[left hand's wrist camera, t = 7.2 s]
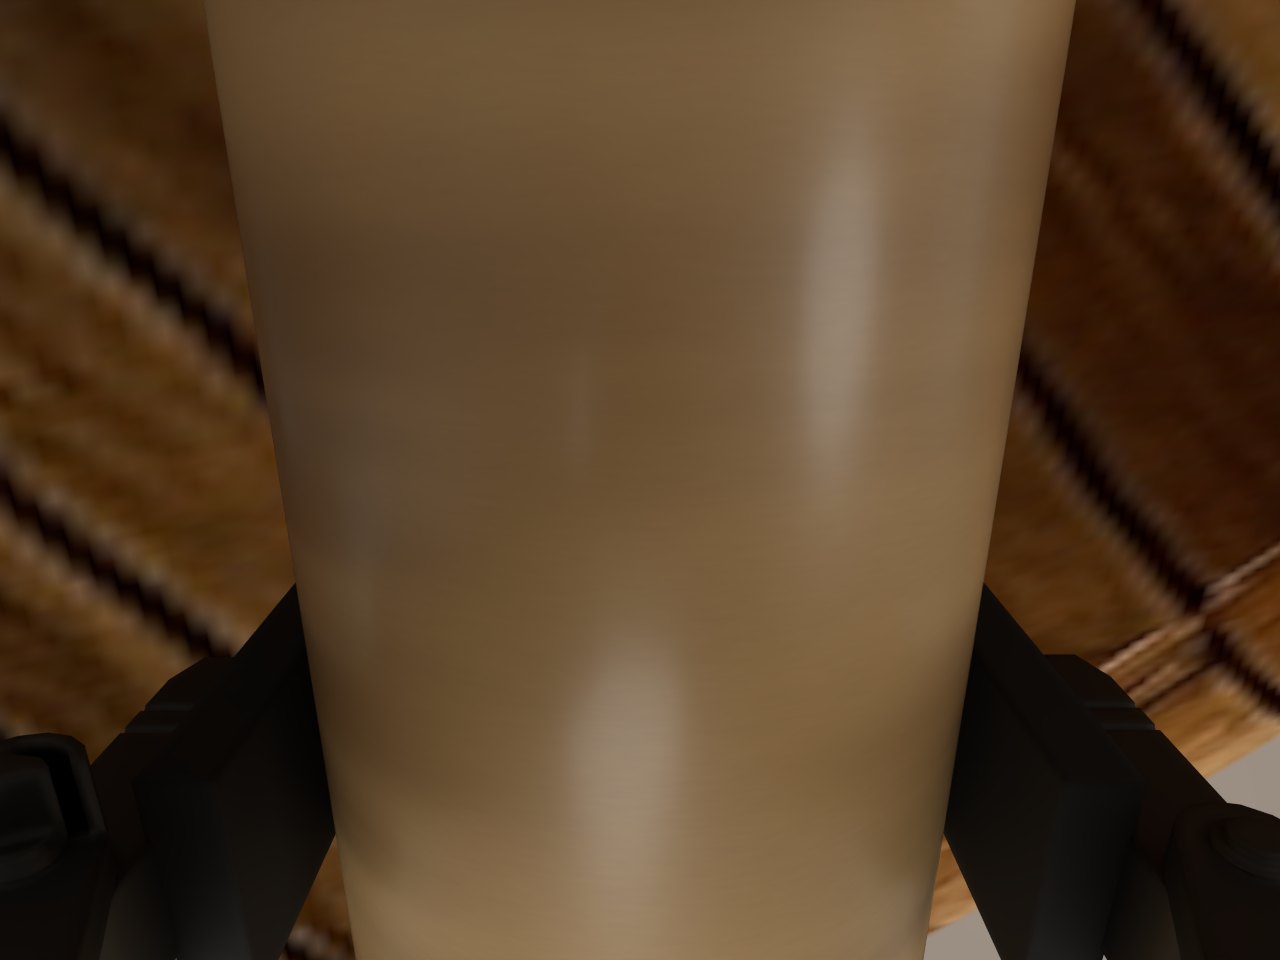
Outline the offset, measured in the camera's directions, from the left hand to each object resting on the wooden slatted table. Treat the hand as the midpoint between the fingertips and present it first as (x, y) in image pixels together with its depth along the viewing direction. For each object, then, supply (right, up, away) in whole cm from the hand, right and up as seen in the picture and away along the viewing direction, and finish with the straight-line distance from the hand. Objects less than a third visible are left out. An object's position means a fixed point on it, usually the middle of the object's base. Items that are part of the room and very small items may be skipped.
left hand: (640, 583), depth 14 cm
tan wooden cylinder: (0, +7, -2) cm, 7 cm away
